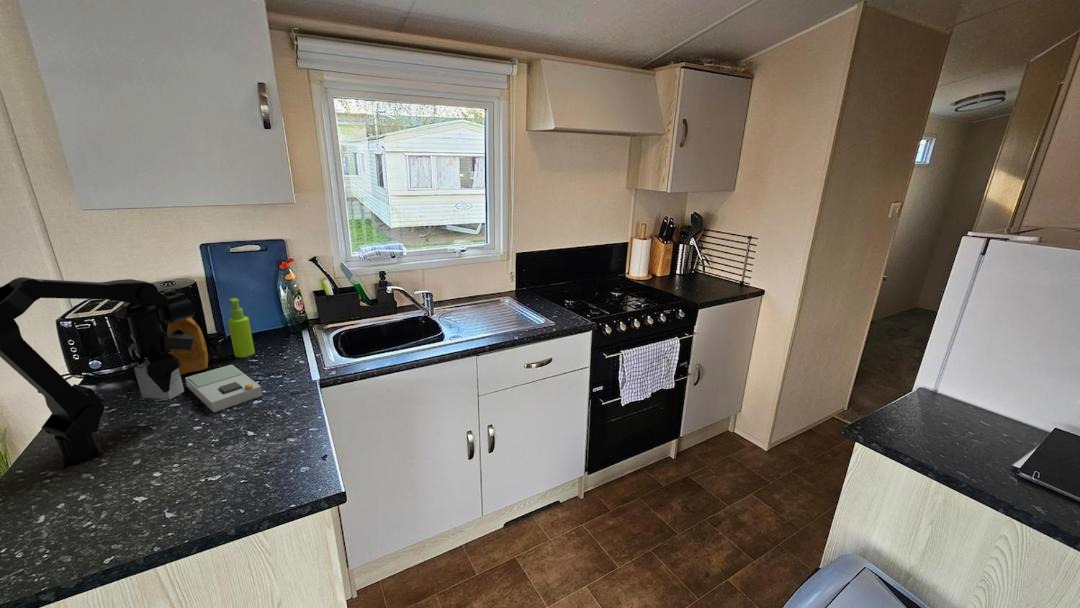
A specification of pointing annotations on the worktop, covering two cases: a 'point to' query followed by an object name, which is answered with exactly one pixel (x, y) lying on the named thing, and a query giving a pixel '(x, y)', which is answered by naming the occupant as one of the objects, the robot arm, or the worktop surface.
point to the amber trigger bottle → (198, 354)
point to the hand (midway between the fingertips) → (161, 386)
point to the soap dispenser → (240, 331)
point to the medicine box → (151, 388)
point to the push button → (229, 388)
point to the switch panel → (210, 382)
